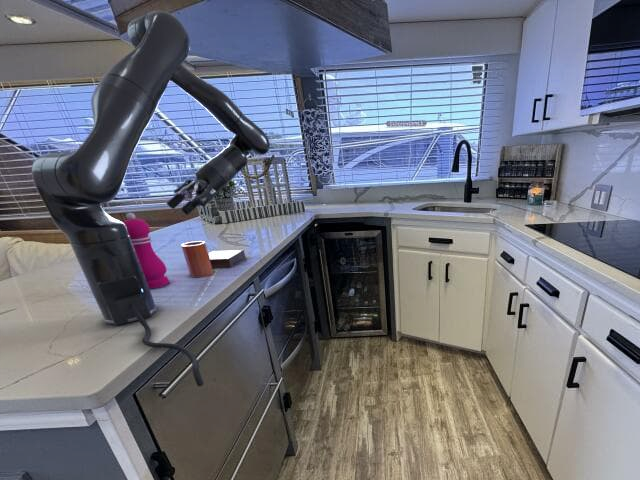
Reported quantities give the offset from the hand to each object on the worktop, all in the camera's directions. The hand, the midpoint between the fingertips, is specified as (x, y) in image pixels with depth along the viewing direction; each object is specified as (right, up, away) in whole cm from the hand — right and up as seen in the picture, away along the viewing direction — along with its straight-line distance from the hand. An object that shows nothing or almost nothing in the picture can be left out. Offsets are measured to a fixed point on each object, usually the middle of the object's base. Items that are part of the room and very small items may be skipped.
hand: (176, 209), depth 93 cm
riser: (+4, -14, +16) cm, 22 cm away
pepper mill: (-4, -22, -2) cm, 23 cm away
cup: (+4, -18, +6) cm, 20 cm away
